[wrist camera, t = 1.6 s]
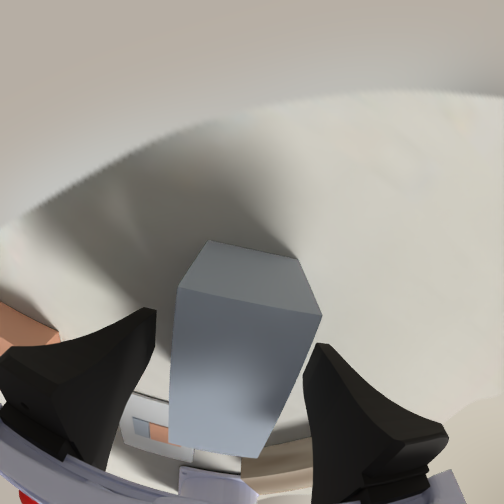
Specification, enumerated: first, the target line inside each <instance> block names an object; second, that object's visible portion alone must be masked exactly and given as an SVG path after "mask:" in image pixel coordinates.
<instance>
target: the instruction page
mask: <svg viewBox="0 0 504 504" xmlns="http://www.w3.org/2000/svg"><path fill="white" fill-rule="evenodd" d="M168 422H169V403H168V402H164V401H161V400H157V399H154V398H150V397H147V396H144V395H141V394H138V393H135V392H132V394H131V396H130V398H129V400H128V402H127V404H126V406H125V409H124V412H123V414H122V417H121V420H120V422H119V424H120V429H121V433H122V437H123V441H124V444H127V445H129V446H132V447H135V448H138V449H141V450H144V451H148V452H151V453H154V454H158V455H161V456H165V457H169V458H172V459H176V460H181V461H185V462H189V463H192V461H193V454H194V449H193V448H188V447H184V446H180V445H176V444H172V443H168Z"/></svg>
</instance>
